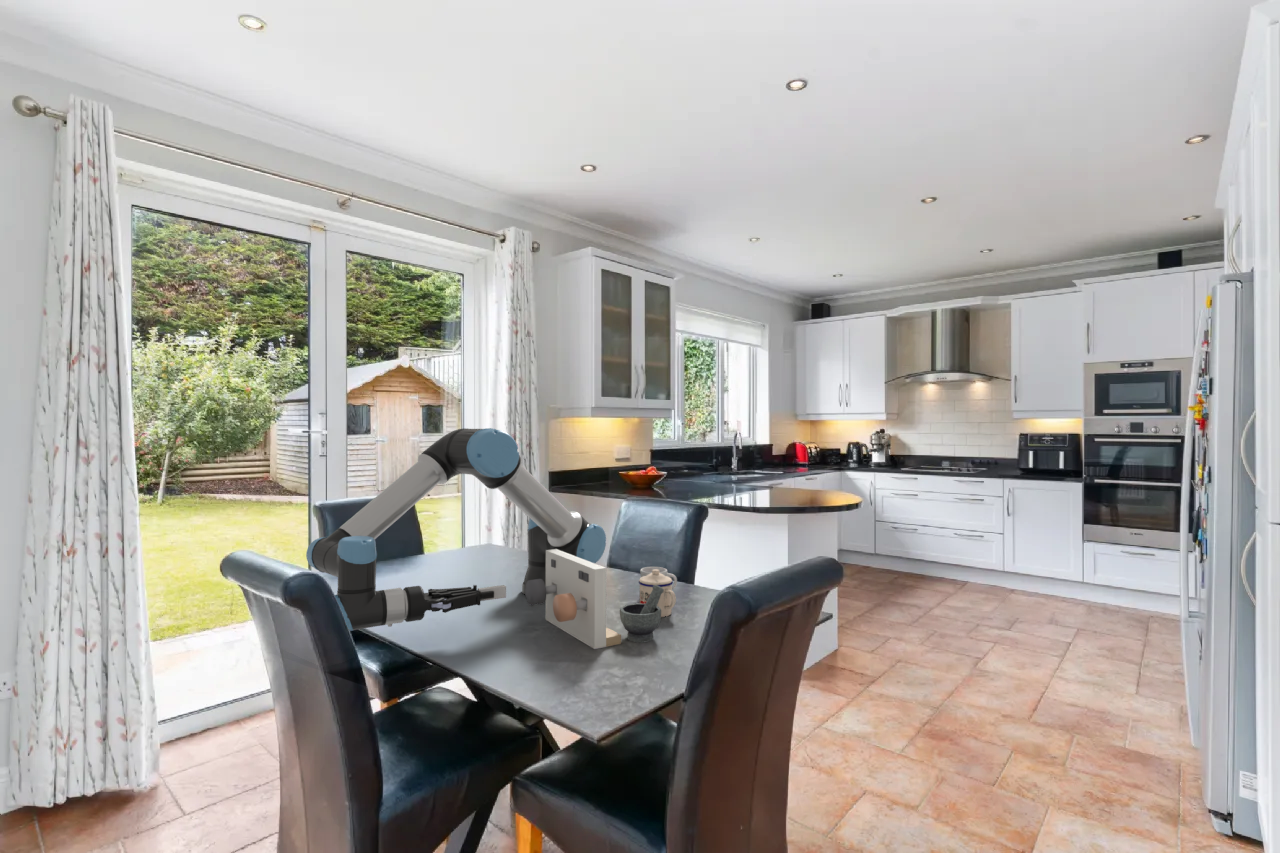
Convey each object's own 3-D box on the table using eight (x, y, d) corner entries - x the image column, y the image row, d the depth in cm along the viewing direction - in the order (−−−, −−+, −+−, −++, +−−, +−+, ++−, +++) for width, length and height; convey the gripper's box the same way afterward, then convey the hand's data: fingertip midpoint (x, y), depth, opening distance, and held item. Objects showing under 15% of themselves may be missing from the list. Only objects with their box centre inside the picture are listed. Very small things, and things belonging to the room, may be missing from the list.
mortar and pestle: (632, 647, 149) (632, 594, 149) (612, 635, 158) (612, 585, 157) (673, 639, 155) (673, 588, 155) (652, 628, 163) (652, 580, 163)
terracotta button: (564, 625, 146) (564, 598, 146) (552, 618, 151) (553, 592, 151) (601, 618, 151) (601, 592, 151) (589, 611, 156) (589, 586, 156)
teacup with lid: (631, 612, 176) (631, 569, 176) (656, 606, 182) (657, 564, 182) (661, 623, 167) (662, 577, 167) (687, 616, 173) (687, 572, 173)
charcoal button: (535, 607, 160) (535, 583, 159) (525, 602, 165) (525, 578, 164) (570, 602, 165) (570, 578, 165) (559, 596, 170) (559, 573, 170)
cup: (677, 594, 196) (677, 567, 196) (676, 601, 188) (676, 573, 188) (641, 592, 197) (641, 566, 197) (638, 600, 189) (638, 572, 189)
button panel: (593, 649, 148) (593, 569, 148) (544, 619, 170) (544, 550, 169) (621, 643, 152) (621, 565, 152) (569, 615, 174) (570, 547, 173)
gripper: (396, 614, 151) (494, 600, 164) (410, 629, 140) (515, 613, 153) (396, 581, 151) (495, 570, 164) (411, 594, 140) (515, 581, 153)
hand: (504, 591), depth 158 cm, fingers closed
